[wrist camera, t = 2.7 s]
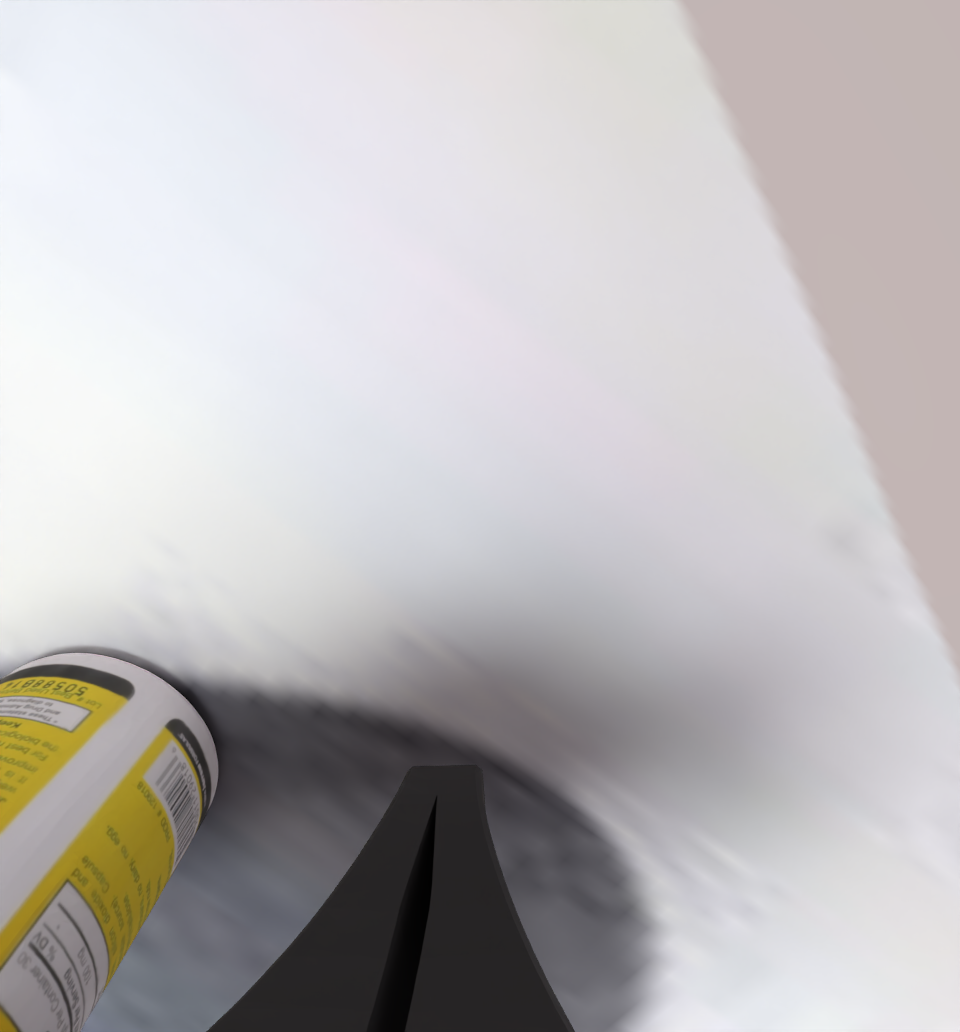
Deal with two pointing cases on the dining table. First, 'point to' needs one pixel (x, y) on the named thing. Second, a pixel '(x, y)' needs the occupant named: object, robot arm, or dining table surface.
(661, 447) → the dining table surface
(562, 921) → the dining table surface
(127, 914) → the supplement bottle
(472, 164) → the dining table surface
